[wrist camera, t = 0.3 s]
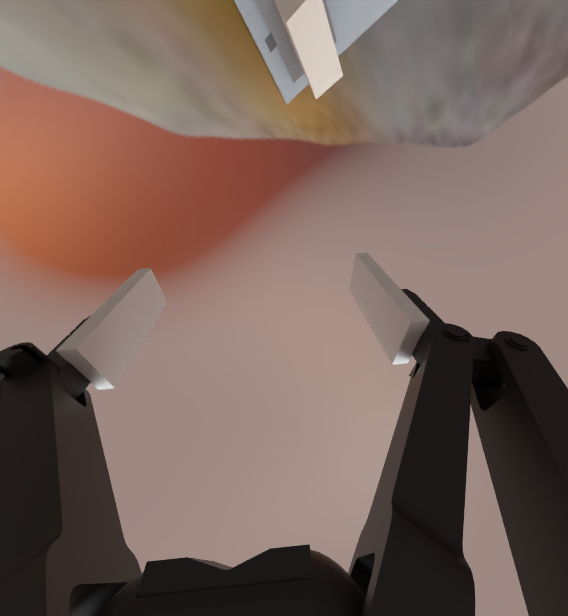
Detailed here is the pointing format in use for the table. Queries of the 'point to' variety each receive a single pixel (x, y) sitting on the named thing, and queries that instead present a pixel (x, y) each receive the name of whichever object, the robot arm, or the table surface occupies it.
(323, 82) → the fader
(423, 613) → the robot arm
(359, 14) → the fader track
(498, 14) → the table surface
